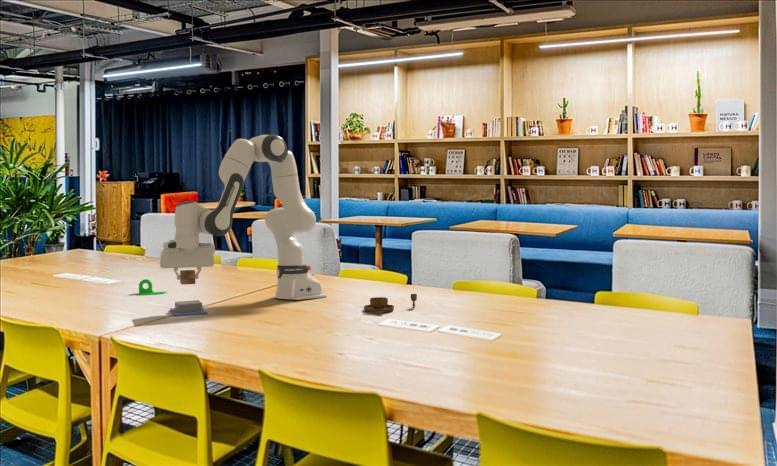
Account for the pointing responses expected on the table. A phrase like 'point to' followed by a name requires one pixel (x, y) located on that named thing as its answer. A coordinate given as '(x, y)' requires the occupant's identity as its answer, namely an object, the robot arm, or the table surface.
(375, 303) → the place setting
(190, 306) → the base
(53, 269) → the table surface
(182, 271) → the walnut cube
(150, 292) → the mechanical part
